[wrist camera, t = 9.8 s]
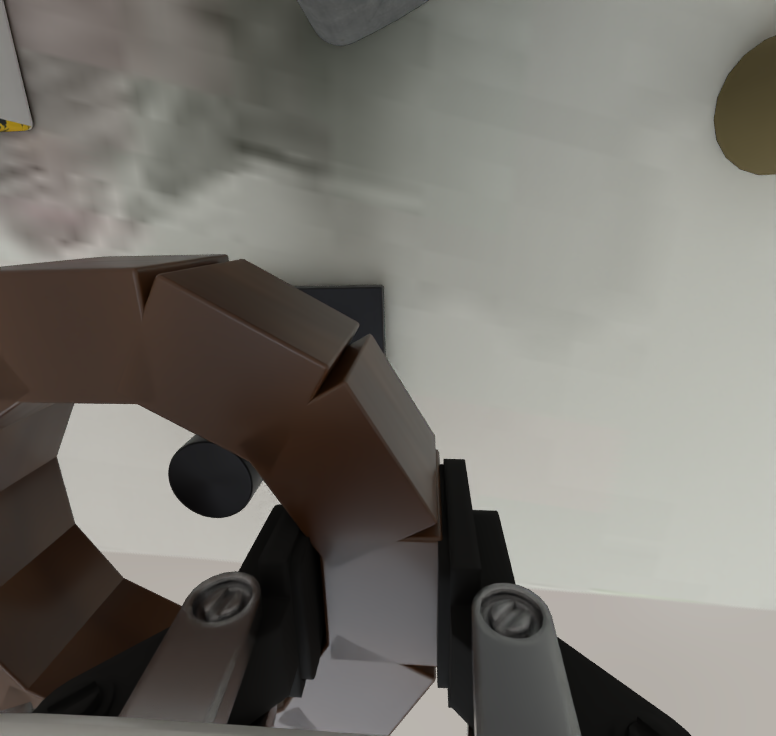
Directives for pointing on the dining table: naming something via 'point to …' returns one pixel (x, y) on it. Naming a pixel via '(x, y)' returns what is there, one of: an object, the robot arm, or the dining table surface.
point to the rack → (234, 474)
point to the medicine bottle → (11, 83)
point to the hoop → (235, 434)
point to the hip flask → (353, 17)
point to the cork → (750, 111)
